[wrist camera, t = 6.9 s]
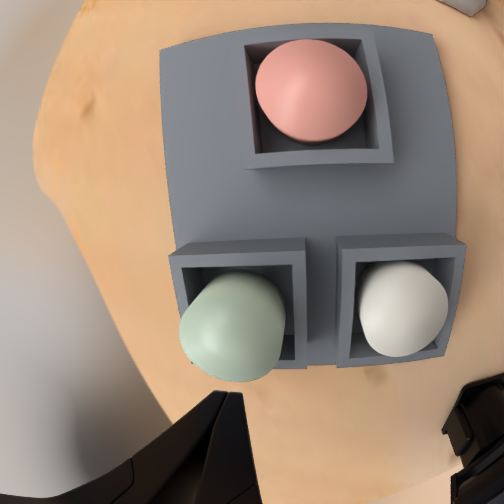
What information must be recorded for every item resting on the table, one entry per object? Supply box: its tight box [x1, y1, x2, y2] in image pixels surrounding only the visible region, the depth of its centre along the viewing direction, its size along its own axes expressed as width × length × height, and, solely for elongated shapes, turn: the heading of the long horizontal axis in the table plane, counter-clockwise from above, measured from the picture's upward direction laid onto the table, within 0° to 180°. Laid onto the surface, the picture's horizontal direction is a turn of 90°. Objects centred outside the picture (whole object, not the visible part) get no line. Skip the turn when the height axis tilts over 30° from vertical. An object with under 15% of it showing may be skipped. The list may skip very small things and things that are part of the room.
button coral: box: [256, 39, 367, 145], centre depth 11 cm, size 4×4×3 cm
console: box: [160, 23, 466, 369], centre depth 13 cm, size 16×20×4 cm
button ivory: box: [354, 259, 448, 357], centre depth 13 cm, size 4×4×3 cm
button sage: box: [179, 269, 287, 382], centre depth 13 cm, size 4×4×3 cm
